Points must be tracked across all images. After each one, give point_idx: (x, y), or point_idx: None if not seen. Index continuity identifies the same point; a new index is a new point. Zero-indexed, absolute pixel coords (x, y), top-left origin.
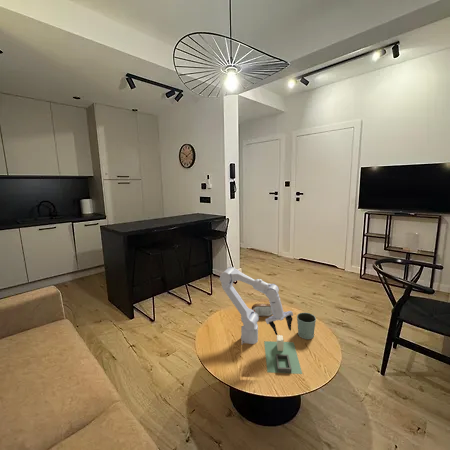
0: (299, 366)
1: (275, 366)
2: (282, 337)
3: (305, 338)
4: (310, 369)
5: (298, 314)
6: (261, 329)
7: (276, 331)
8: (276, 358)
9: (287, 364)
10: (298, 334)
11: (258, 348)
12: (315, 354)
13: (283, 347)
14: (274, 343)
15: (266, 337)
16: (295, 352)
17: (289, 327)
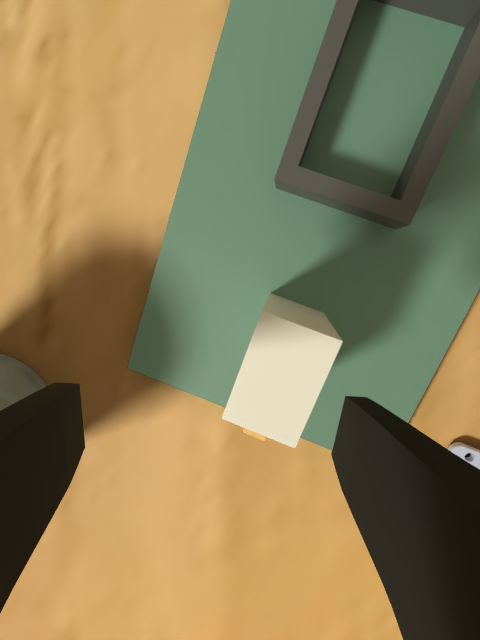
0: (226, 46)
1: (467, 106)
2: (242, 378)
3: (11, 371)
4: (141, 22)
5: None
6: (313, 608)
7: (400, 441)
8: (442, 151)
9: (327, 104)
10: None
11: (471, 413)
12: (21, 191)
13: (269, 297)
14: None
15: (321, 510)
16: (172, 240)
17: (35, 425)
